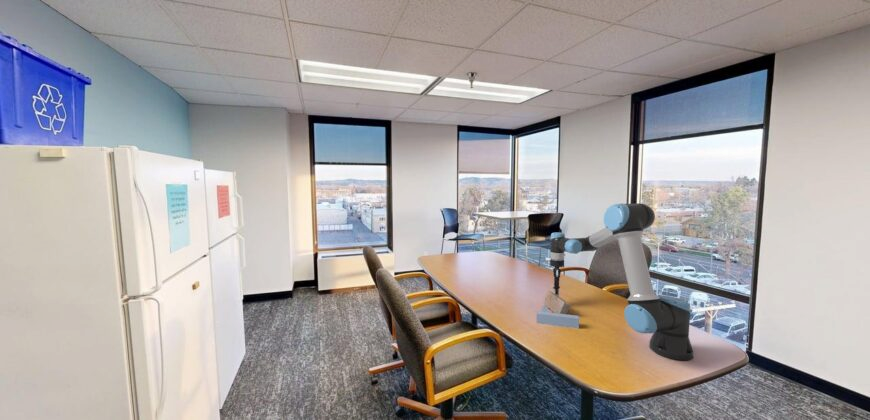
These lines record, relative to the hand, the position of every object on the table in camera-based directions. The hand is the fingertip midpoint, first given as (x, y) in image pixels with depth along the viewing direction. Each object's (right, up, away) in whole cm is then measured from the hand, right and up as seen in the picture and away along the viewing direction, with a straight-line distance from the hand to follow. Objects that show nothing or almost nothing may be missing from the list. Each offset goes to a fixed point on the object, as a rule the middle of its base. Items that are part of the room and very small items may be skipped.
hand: (556, 299), depth 189 cm
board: (-7, -6, -20) cm, 22 cm away
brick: (-3, -6, -8) cm, 10 cm away
